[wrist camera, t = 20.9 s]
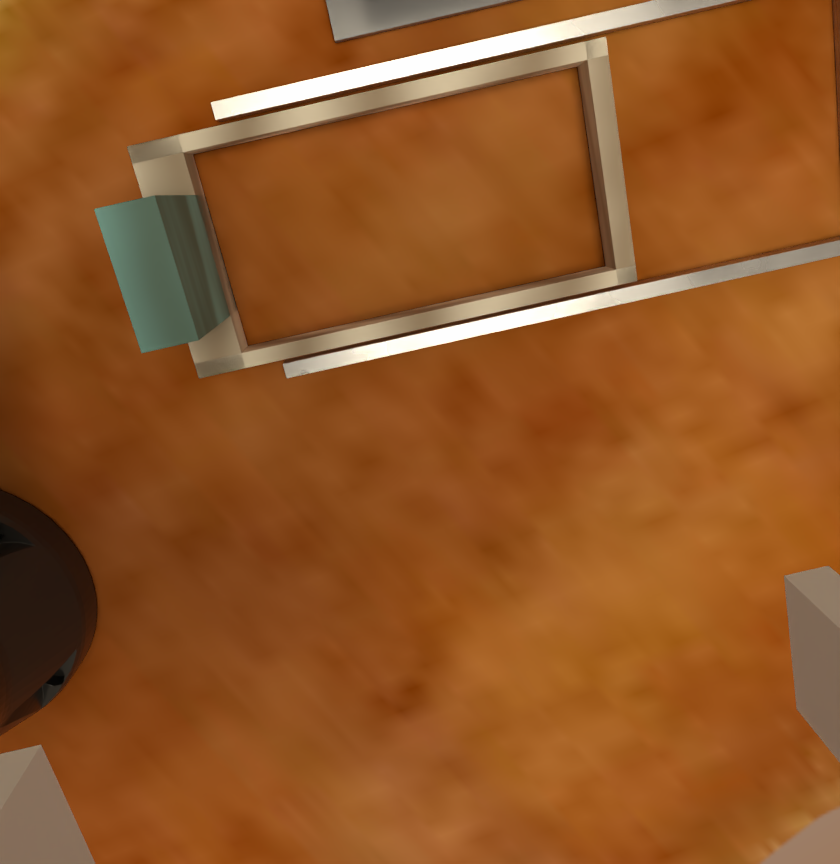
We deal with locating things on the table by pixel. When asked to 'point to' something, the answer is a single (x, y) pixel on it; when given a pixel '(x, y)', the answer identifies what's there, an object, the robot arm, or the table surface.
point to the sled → (173, 156)
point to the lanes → (666, 5)
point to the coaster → (394, 14)
